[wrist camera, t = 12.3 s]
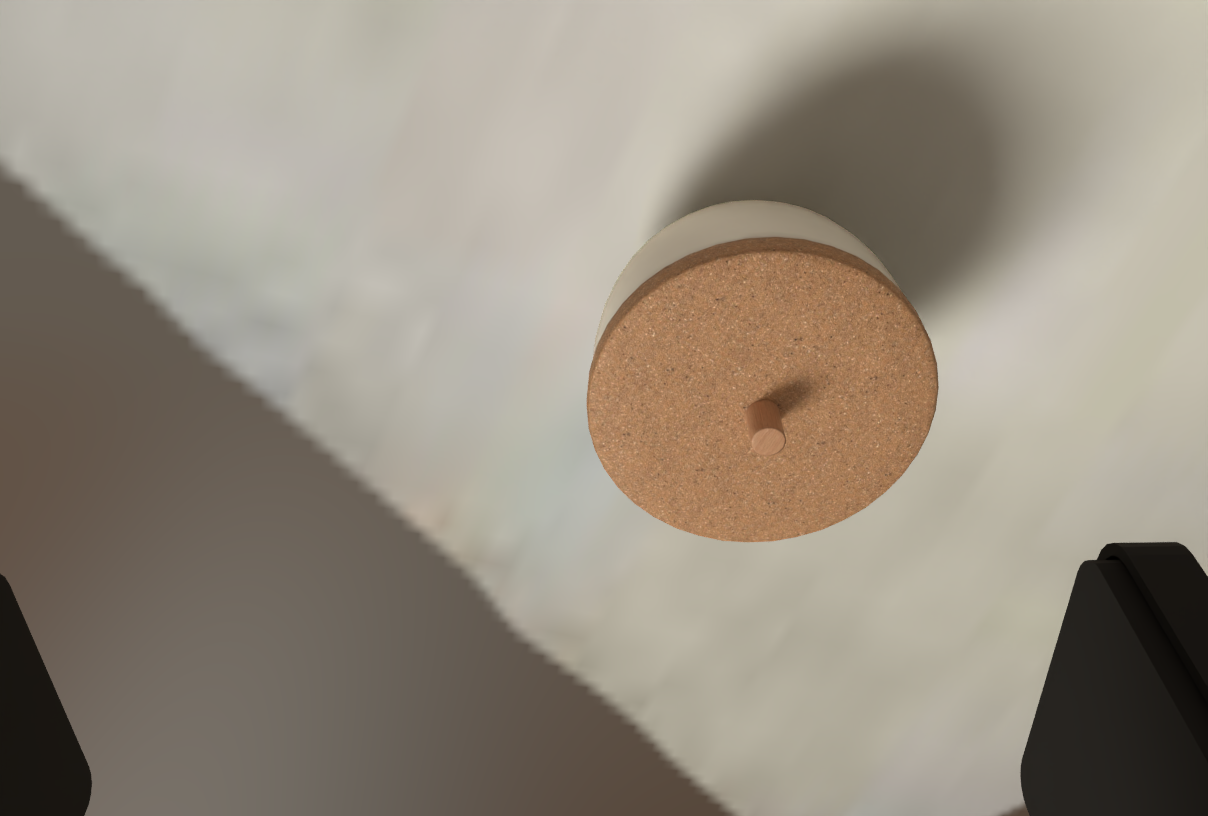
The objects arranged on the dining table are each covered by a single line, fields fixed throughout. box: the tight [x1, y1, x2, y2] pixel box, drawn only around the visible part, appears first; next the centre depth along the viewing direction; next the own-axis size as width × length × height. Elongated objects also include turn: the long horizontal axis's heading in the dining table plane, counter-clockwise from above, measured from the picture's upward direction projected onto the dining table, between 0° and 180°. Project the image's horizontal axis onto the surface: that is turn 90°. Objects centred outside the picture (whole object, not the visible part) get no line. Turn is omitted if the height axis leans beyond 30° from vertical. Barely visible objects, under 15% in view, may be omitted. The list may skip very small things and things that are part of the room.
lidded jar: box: [587, 200, 938, 542], centre depth 35 cm, size 11×11×9 cm
